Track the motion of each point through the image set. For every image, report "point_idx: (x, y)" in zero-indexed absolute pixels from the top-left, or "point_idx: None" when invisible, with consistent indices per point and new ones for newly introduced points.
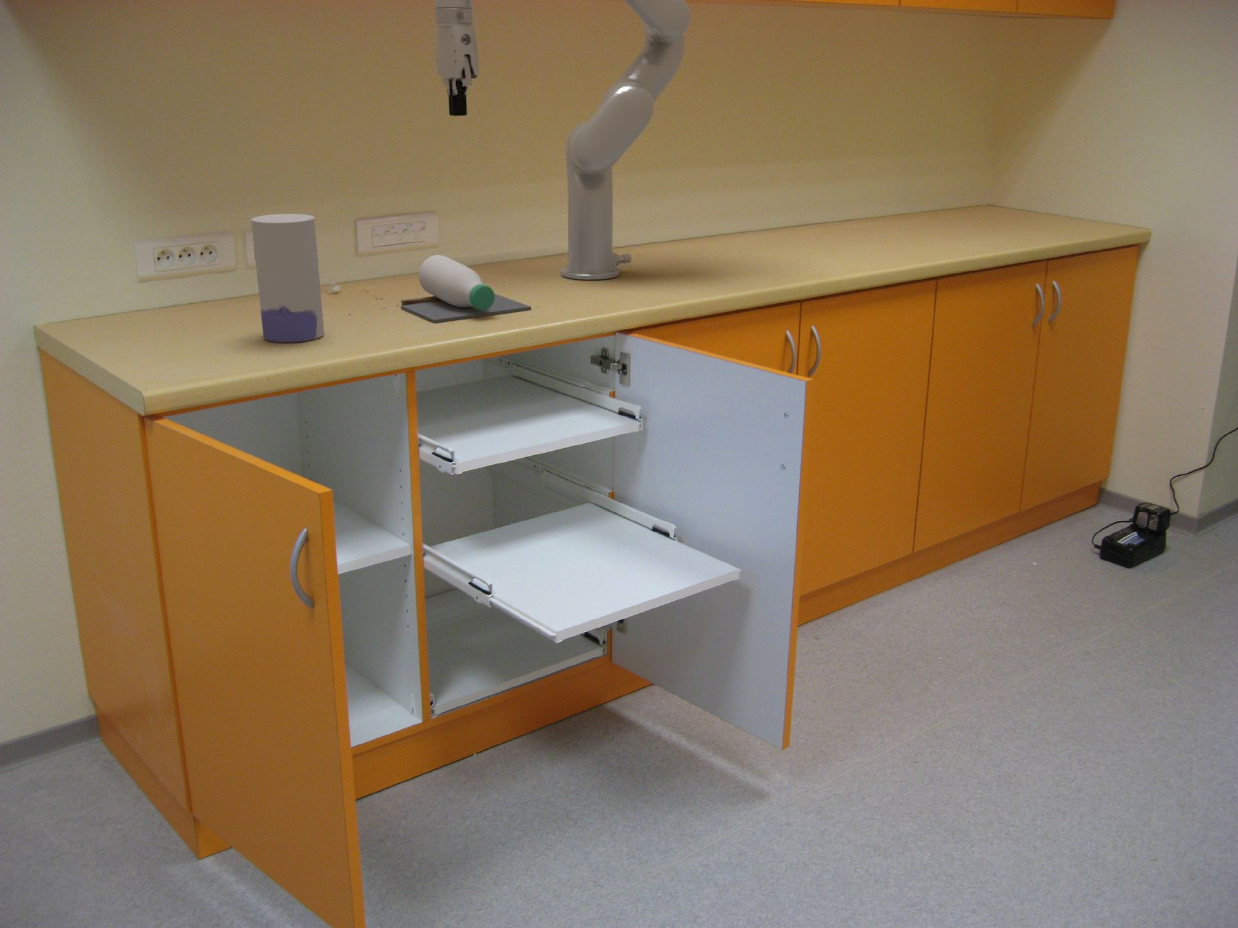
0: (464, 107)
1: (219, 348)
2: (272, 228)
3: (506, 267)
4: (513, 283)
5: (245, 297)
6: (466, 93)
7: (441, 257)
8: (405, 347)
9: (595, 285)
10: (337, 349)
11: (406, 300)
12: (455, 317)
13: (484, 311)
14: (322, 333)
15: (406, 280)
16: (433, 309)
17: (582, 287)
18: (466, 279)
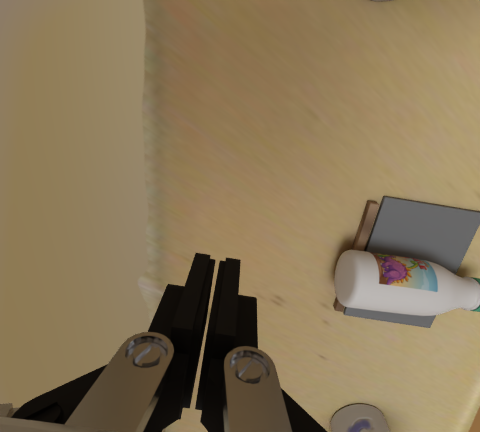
0: (255, 307)
1: None
2: None
3: (208, 17)
4: (332, 110)
5: None
6: (271, 366)
7: (376, 298)
8: (474, 387)
9: (460, 4)
10: (426, 420)
11: (340, 307)
12: None
13: (449, 269)
14: (381, 413)
15: (198, 216)
16: None
17: (450, 39)
18: (455, 307)
